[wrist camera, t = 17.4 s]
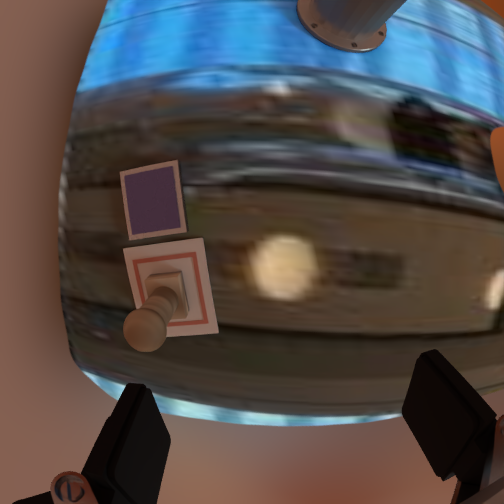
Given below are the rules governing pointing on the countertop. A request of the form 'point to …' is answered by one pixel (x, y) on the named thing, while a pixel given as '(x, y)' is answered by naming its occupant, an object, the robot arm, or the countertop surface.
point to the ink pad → (154, 200)
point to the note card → (194, 274)
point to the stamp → (157, 311)
